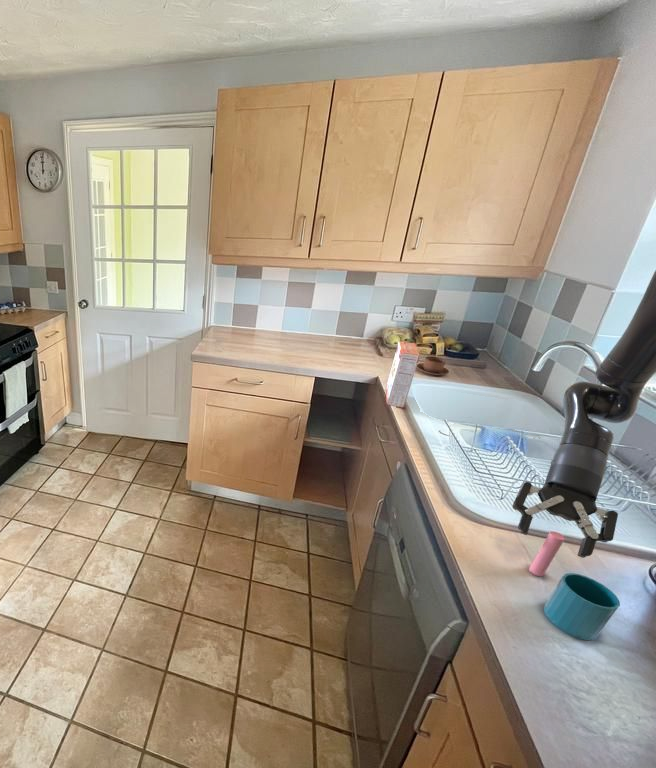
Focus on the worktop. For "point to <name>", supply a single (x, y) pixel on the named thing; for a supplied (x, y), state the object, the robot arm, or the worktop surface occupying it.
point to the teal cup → (581, 606)
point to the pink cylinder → (546, 553)
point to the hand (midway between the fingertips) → (551, 544)
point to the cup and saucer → (433, 366)
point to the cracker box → (401, 374)
